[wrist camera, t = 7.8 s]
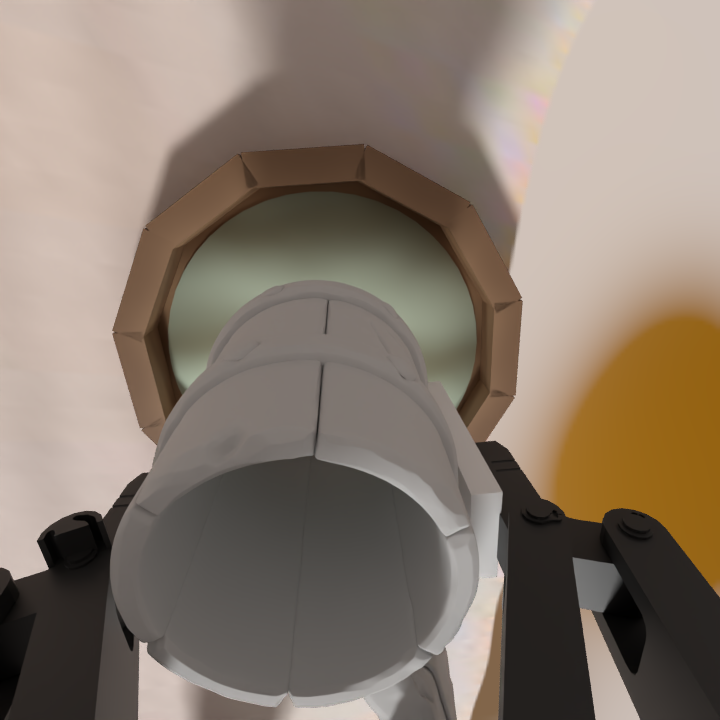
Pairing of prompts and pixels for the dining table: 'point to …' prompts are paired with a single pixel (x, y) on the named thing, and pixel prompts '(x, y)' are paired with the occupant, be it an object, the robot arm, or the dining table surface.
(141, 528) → the mug
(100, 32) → the dining table surface
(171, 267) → the tray
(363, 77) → the dining table surface
